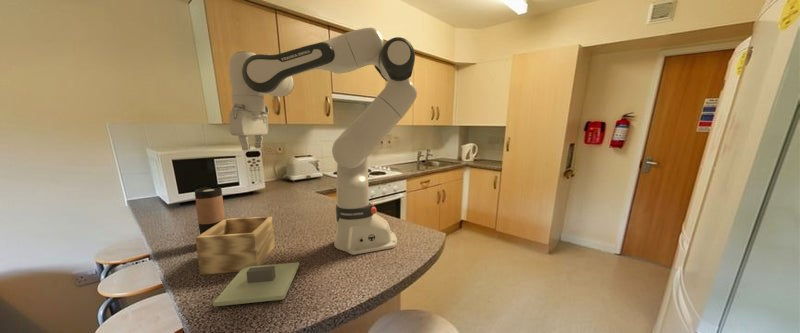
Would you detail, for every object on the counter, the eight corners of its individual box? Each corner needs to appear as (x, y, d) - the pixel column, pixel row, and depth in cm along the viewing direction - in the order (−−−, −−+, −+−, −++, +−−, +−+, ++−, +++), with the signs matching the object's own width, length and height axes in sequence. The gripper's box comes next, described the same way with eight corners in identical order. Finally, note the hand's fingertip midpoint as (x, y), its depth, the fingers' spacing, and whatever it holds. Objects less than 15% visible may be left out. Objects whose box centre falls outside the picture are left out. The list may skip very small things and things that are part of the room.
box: (274, 246, 87) (272, 216, 85) (257, 269, 72) (254, 233, 71) (228, 249, 84) (224, 218, 83) (200, 274, 70) (195, 237, 68)
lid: (299, 269, 73) (298, 252, 72) (284, 303, 58) (282, 283, 58) (244, 274, 71) (242, 256, 70) (214, 311, 56) (211, 290, 55)
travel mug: (206, 250, 84) (199, 192, 82) (197, 244, 88) (190, 190, 86) (231, 241, 91) (225, 188, 88) (221, 237, 95) (215, 186, 92)
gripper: (244, 102, 70) (249, 151, 72) (270, 109, 90) (273, 147, 92) (220, 102, 69) (225, 152, 71) (251, 109, 89) (255, 147, 91)
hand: (252, 149), depth 82 cm, fingers open, 8 cm apart
